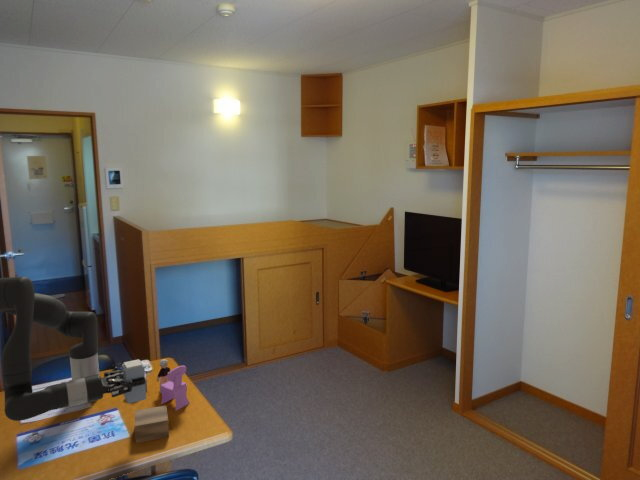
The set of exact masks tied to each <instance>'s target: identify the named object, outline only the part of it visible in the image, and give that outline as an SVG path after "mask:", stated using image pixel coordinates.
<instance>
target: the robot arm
mask: <svg viewBox="0 0 640 480" xmlns="http://www.w3.org/2000/svg"><path fill="white" fill-rule="evenodd" d="M0 312H1V313H5V314H11V315H14V316H15V324H14V327H13V330H12V332H11V334H10V336H9V338H8V340H7V342H6V343H5V346H4V348H3V350H2V353H1V374H2V380H3V383H4V384H3V385H4V415H5V416H6V417H7V419H9V420H11V421H15V422H19V421H24V420H28V419H33V418H34V417H37V416H39V415H40V416H41V415H43V414H45V413H48V412H50V411H54V410H59V409H63V408H68V407H73V406H78V405H83V404H89V403H93V402H95V401H99V400H102V399H103V398H104V394H111V397H112V398H116V397H118V396H121V395H124V394H125V393H128V392H131V391H132V388H133V387H135V386H139V385H143V384H145V379H146V377H145V378H144V377H141V378H136V379H132V380H124V379H123V372H122V369H119V370H112V371H105V372H103V377H101V375H100V368H99V366H100V365H99V355H98V353H99V352H98V351H99V350H98V348H99V347H98V345H99V340H98V339H99V335H98V334H99V333H98V317H97V314H96V313H95V312H93V311H68V310H67V306H66V305H65V303H63V301H61V300H60V299H57V298H55V297H54V296H51V295H48V294H44V293H43V294H42V293H38V292H37V293H36V292H35V286H34V283H33V282H32V280H31V279H30V278H29V277H26V276H12V277H0ZM33 323H34V324H37V325H40V326H43V327H46V328H49V329H53V330H55V331H57V332H59V333H60V334H62V335H64V336H65V337H68V338H82V342H80V343H76V344H75V345H72V346H71V347H69V351H68V352H69V353H68V354H69V362H70V363H69V364H70V373H71V375H70V376H71V380H68V381H65V382H61V383H56V384H52V385H49V386H46V387H45V388H43V389H42V390H36V391H34V390H33V383H32V375H33V371H32V367H33V366H32V355H31V354H32V353H31V346H32V345H31V341H32V330H33ZM125 383H126V384H125ZM125 389H127V390H125Z"/></svg>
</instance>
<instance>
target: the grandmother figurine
mask: <svg viewBox="0 0 640 480" xmlns="http://www.w3.org/2000/svg"><path fill="white" fill-rule="evenodd" d="M168 363H169V361H168V359H166V358H165V359H164V358H163V359H161V360H160V361H159V363H158V364H159V366H160V370H159V372H158V374H157V377H156V382H159V394H161V395H162V392H161V390H160V388H161V385H162V384H164V383H167V382H169V380H168V379H167V375H168V373H169V372H170V371H171V370H172V369H171V368H170V367H169V366H168Z"/></svg>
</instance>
